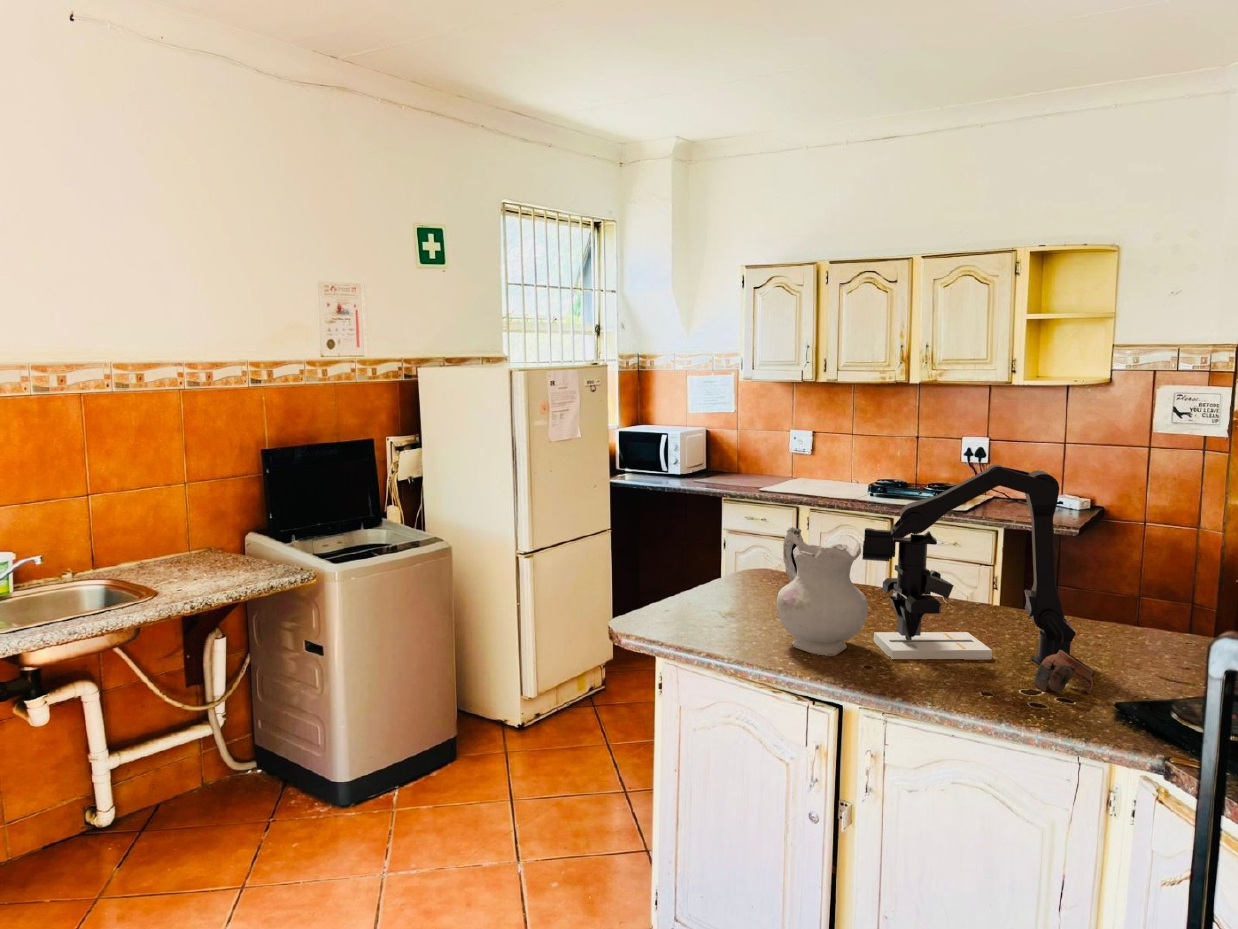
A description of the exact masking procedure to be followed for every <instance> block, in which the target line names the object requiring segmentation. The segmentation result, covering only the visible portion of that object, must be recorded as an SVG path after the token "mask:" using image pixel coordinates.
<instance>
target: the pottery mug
mask: <svg viewBox="0 0 1238 929" xmlns="http://www.w3.org/2000/svg"><path fill="white" fill-rule="evenodd" d="M1053 666H1055V668H1054V669H1052V667H1053ZM1073 671H1074V672H1073ZM1073 673H1075V674H1077V675H1079V676H1080V677H1081V678H1083V679H1084V680H1086V682H1088V687H1087V689H1086V693H1089V694H1090V693H1091V691H1092V688H1093V687H1094V686H1093V685H1094V684H1093V683H1094V682H1093V677H1094V675H1095V674H1096V672H1095V671H1094V669H1092V668H1091V667H1090V666H1088V665H1087V664H1085V663H1084V662H1082V661H1081V660H1079V659H1078V658H1077V657H1075V656H1073V655H1071V653H1070V654H1068V653H1067V652H1065V651H1063V650H1059V651H1058V653H1057V654H1054V655H1050V656H1048V657H1046V658H1045V659H1044V660H1043V662H1042V663H1041V664H1040V665H1039V666H1038V669H1037V670H1036V673H1035V677H1034V680H1033V683H1034V685H1035V686H1036V687H1037V688H1039V689H1040V690H1041V691H1043V692H1047V690H1048V687H1049V688H1050V689H1051V690H1052V691H1053V692H1059V693H1062V692H1063V691H1064V689H1065V688H1066V686H1067V684H1068V683H1069V682H1070V680H1071V679H1072V677H1073Z"/></svg>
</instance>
